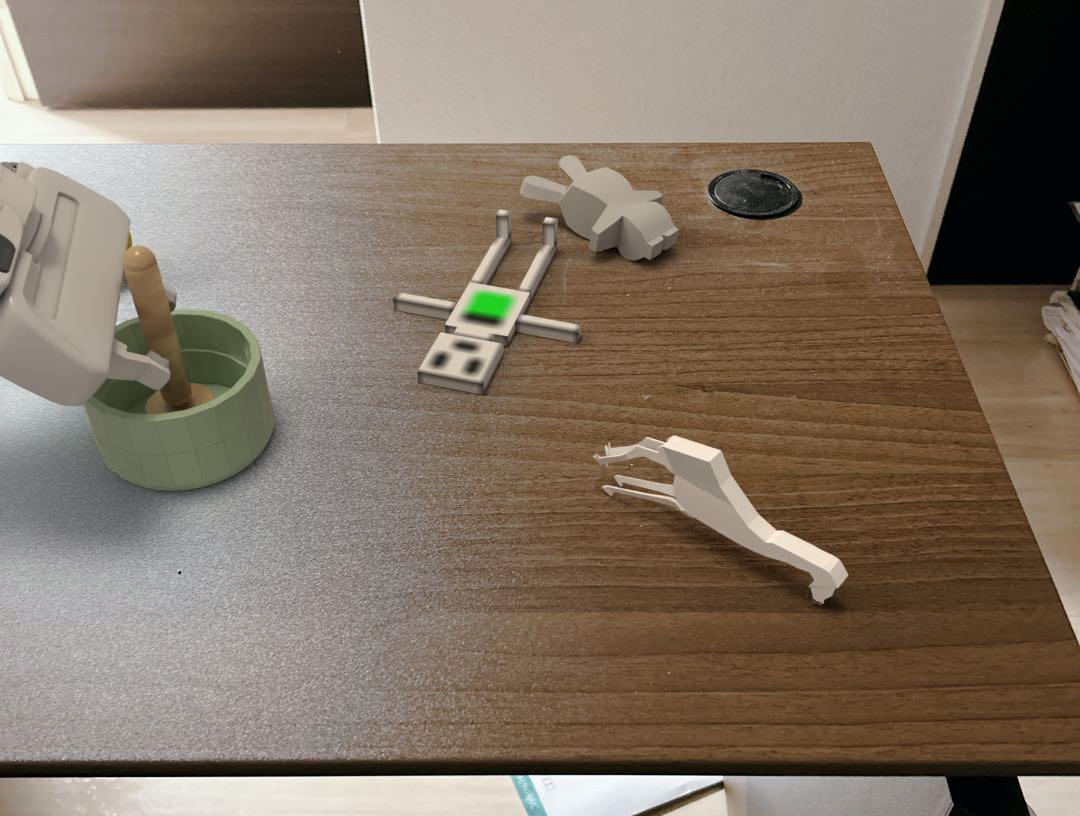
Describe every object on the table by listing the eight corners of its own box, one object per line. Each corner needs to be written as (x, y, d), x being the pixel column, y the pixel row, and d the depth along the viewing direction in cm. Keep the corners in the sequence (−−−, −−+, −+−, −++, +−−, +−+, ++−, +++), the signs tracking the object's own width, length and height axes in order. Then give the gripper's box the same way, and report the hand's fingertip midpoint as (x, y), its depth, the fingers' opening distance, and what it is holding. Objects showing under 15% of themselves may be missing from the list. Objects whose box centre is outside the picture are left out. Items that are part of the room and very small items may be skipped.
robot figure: (444, 231, 107) (354, 370, 92) (442, 200, 104) (350, 336, 90) (614, 260, 104) (549, 407, 89) (616, 228, 101) (550, 374, 87)
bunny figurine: (635, 243, 98) (511, 165, 104) (626, 290, 102) (507, 213, 108) (701, 202, 103) (579, 130, 109) (690, 249, 107) (573, 177, 113)
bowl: (75, 488, 82) (46, 414, 77) (132, 377, 91) (109, 304, 86) (251, 498, 82) (233, 425, 77) (291, 386, 91) (278, 313, 85)
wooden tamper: (144, 448, 84) (85, 267, 73) (164, 405, 88) (110, 226, 76) (210, 452, 84) (161, 270, 73) (227, 409, 88) (183, 229, 76)
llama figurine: (625, 566, 86) (841, 612, 74) (585, 438, 80) (811, 466, 68) (639, 552, 87) (854, 595, 75) (600, 425, 81) (825, 450, 69)
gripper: (-21, 183, 80) (153, 288, 89) (-79, 357, 66) (134, 462, 75) (24, 119, 78) (199, 233, 86) (-26, 286, 64) (189, 403, 72)
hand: (169, 341), depth 80 cm, fingers open, 7 cm apart
